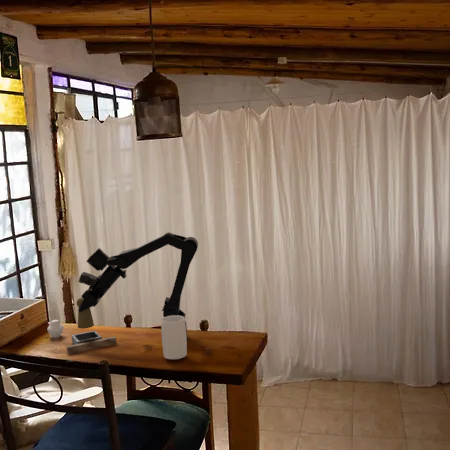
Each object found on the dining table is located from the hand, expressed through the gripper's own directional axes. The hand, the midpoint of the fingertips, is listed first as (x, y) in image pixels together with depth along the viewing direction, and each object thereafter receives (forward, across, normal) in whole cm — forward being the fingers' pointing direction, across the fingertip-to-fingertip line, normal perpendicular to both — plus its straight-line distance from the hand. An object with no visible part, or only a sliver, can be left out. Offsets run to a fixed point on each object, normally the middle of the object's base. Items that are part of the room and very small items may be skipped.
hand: (80, 309), depth 209 cm
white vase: (+19, -10, 0) cm, 21 cm away
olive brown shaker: (+4, 0, +6) cm, 7 cm away
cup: (-16, +20, +36) cm, 44 cm away
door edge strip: (+6, +6, +13) cm, 15 cm away
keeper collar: (+9, 0, +10) cm, 13 cm away
